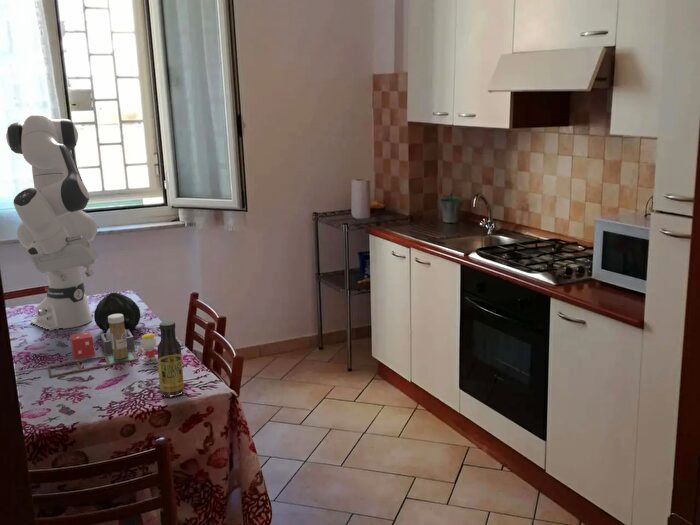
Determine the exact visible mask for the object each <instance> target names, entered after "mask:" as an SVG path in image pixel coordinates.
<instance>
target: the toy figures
mask: <svg viewBox="0 0 700 525" xmlns="http://www.w3.org/2000/svg"><path fill="white" fill-rule="evenodd" d="M155 336H156V334H154V333H149V332H148V333H145V334H143V335H142V336H141V337H140V339H141V341H140V345H141V346H139V345H137V346H136V349H137V352H139V354H140V355H142V356H143V357H141V361H142V362H149V361H150V360H151V361H152V360H156V359H157V355H158V350H157V347H156V345H157V339H156V337H155Z"/></svg>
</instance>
